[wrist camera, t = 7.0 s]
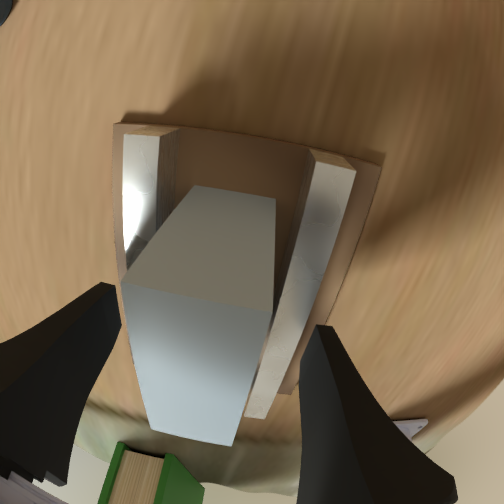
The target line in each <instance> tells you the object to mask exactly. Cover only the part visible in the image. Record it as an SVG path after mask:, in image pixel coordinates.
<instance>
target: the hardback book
mask: <svg viewBox="0 0 504 504" xmlns="http://www.w3.org/2000/svg"><path fill="white" fill-rule="evenodd" d="M204 491H205V488H204V487H203V486H202V485H201V484H200V483H199V482H198V481H197V480H196V479H195V478H194V477H193V476H192V475H191V474H190V473H189V471H188V470H187V469H186V468H185V467H184V466H183V465H182V464H181V463H180V461H179V460H178V459H177V458H176V457H175V456H174V454H169V453H166V454H165V458H164V459H161V458H156V457H152V456H147V455H143V454H139V453H135V452H132V451H131V450H130V449H129V448H128V447H127V446H126V445H125V444H124V443H121V442H118V443H117V445H116V448H115V451H114V454H113V457H112V460H111V463H110V466H109V469H108V472H107V475H106V478H105V481H104V484H103V487H102V491H101V494H100V497H99V500H98V504H202V502H203V496H204Z"/></svg>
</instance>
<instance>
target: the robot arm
mask: <svg viewBox="0 0 504 504" xmlns="http://www.w3.org/2000/svg"><path fill="white" fill-rule="evenodd" d="M121 326H122V324H121V319H120V313H119V307H118V301H117V294H116V287H115V285H111V284H107V283H104V282H100V283H99V284H97V285H95V286H94V287H92V288H91V289H89V290H88V291H86V292H85V293H84V294H82V295H81V296H79V297H78V298H76V299H75V300H73V301H72V302H70V303H69V304H68V305H66V306H65V307H63V308H62V309H60V310H59V311H57V312H56V313H54V314H53V315H51V316H49V317H48V318H46V319H45V320H43V321H42V322H40V323H39V324H37V325H35V326H34V327H32V328H30V329H28V330H27V331H25V332H23V333H21V334H19V335H17V336H15V337H14V338H12V339H10V340H7V341H5V342H3V343H0V504H68V503H66V502H64V501H62V500H60V499H58V498H56V497H54V496H53V495H51V494H49V493H47V492H45V491H44V490H42V489H40V488H39V487H37V486H35V485H34V484H32V482H33V479H36V480H38V481H39V482H41V483H42V482H43V480H44V479H46V480H48V481H50V482H52V483H53V484H55V485H57V486H64V485H66V484H67V477H68V470H69V462H70V457H71V452H72V448H73V443H74V439H75V435H76V432H77V428H78V424H79V421H80V418H81V415H82V412H83V409H84V406H85V403H86V401H87V398H88V396H89V394H90V391H91V389H92V388H93V386H94V384H95V382H96V380H97V378H98V376H99V374H100V372H101V370H102V368H103V366H104V364H105V362H106V361H107V359H108V357H109V355H110V353H111V351H112V349H113V347H114V344H115V342H116V339H117V337H118V334H119V331H120V329H121ZM299 398H300V413H301V429H302V457H301V470H300V480H299V489H298V496H297V503H296V504H454V503H455V502H456V501H457V500H458V495H457V490H456V484H455V480H454V477H453V476H452V475H451V474H449V473H448V472H447V471H445V470H444V469H442V468H441V467H440V466H438V465H437V464H436V463H434V462H433V461H432V460H431V459H429V458H428V457H427V456H426V455H425V454H424V453H423V452H422V451H420V450H419V449H418V448H417V447H416V446H415V445H414V444H413V443H412V439H411V437H413V436H414V435H415V434H416V433H417V432H419V431H420V430H421V429H422V428H423V427H424V426H426V425H427V424H428V419H417V420H405V421H392V420H391V419H390V418H389V416H388V415H387V414H386V412H385V411H384V410H383V409H382V407H381V406H380V405H379V403H378V402H377V401H376V399H375V398H374V396H373V395H372V393H371V392H370V390H369V389H368V387H367V386H366V384H365V382H364V381H363V379H362V378H361V376H360V374H359V373H358V371H357V369H356V368H355V366H354V364H353V362H352V361H351V359H350V357H349V355H348V354H347V352H346V350H345V348H344V346H343V344H342V343H341V341H340V339H339V337H338V335H337V333H336V332H335V330H334V328H333V327H332V326H326V325H318V324H316V325H315V328H314V330H313V332H312V335H311V337H310V339H309V342H308V344H307V346H306V348H305V351H304V353H303V355H302V357H301V360H300V370H299Z"/></svg>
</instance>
